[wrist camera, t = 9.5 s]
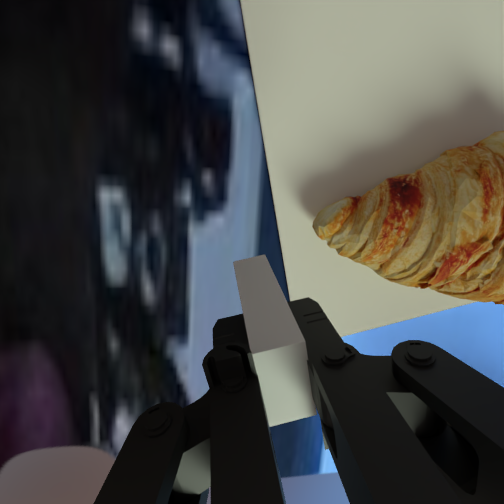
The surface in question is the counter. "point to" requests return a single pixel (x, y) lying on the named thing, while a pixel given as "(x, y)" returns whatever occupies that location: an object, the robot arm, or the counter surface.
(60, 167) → the counter surface
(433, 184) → the croissant
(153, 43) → the counter surface
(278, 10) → the mat
